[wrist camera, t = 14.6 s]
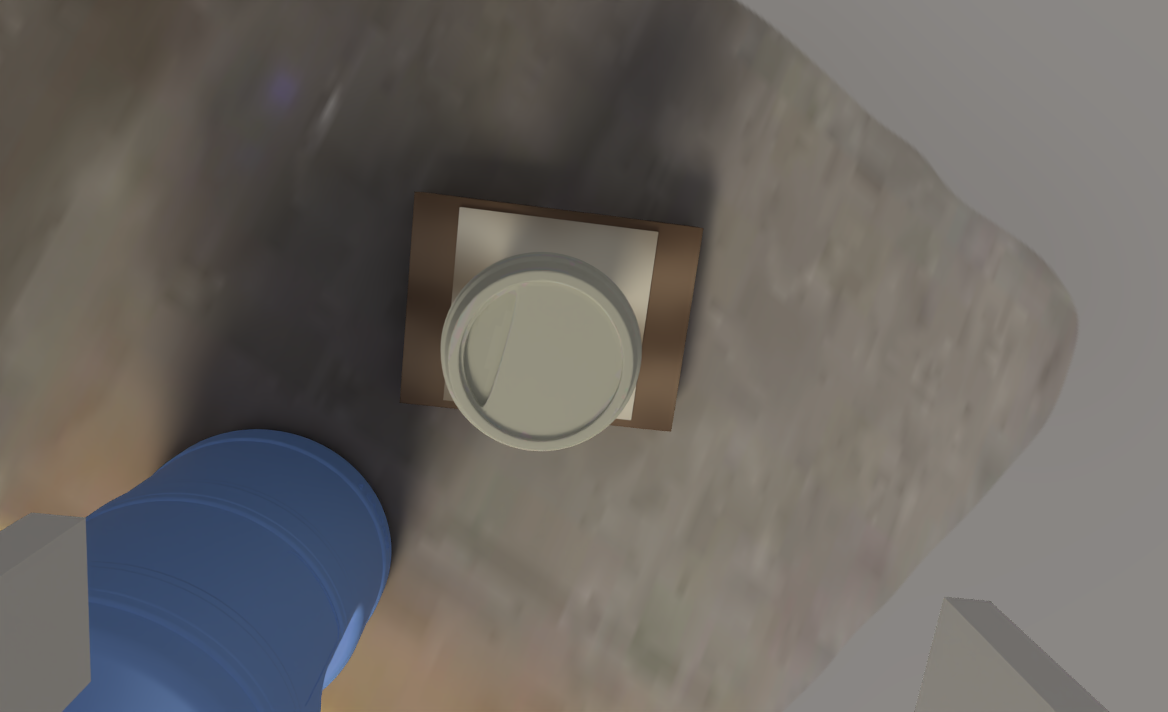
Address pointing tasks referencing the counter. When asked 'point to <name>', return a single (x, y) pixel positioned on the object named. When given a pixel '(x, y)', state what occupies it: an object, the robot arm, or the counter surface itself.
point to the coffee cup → (541, 351)
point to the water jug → (232, 579)
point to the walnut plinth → (500, 230)
